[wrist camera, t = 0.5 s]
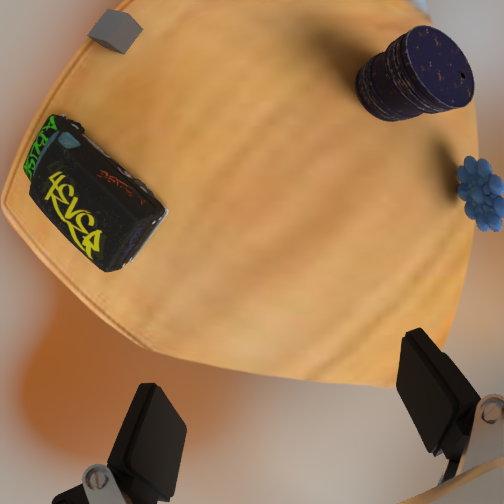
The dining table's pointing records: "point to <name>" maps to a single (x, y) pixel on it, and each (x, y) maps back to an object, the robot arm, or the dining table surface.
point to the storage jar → (416, 77)
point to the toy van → (90, 195)
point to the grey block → (116, 31)
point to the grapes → (481, 193)
